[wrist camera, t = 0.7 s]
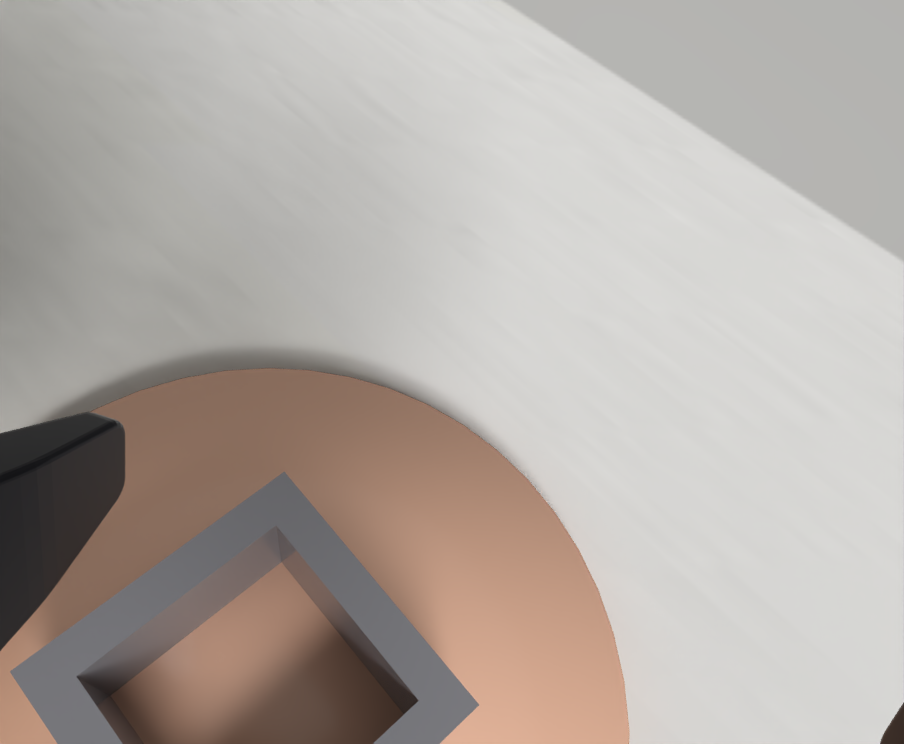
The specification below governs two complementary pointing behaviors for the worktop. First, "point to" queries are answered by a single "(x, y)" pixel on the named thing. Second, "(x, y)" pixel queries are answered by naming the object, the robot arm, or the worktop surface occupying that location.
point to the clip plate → (315, 584)
